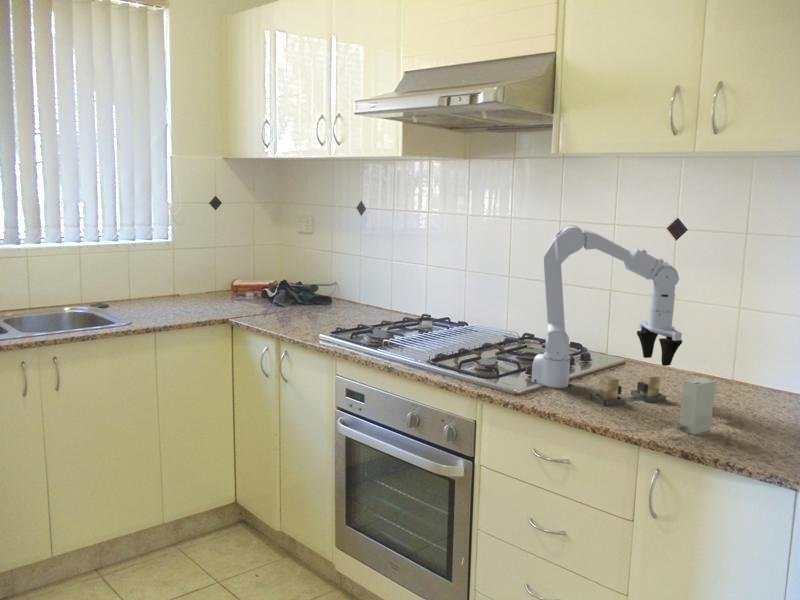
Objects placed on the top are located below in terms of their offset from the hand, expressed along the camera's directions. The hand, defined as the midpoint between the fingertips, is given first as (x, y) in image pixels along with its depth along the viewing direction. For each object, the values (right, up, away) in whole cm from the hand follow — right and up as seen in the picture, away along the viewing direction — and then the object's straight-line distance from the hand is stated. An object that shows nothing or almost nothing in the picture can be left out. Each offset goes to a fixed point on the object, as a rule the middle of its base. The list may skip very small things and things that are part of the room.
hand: (656, 361), depth 185 cm
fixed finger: (-15, -9, -7) cm, 19 cm away
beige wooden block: (-3, -9, -3) cm, 10 cm away
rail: (-9, -11, -5) cm, 15 cm away
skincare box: (+1, -14, -22) cm, 26 cm away
